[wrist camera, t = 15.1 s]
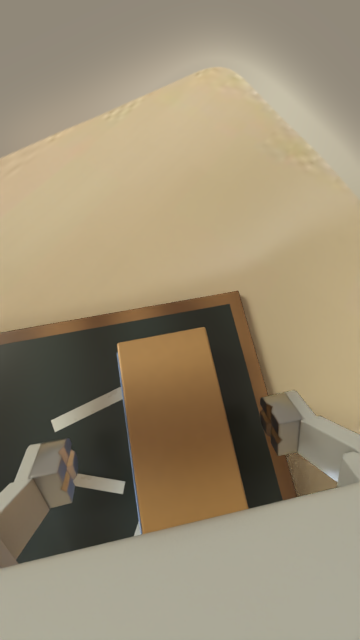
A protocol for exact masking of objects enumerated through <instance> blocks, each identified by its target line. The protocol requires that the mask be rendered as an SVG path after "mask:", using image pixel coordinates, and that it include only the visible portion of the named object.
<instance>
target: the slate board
mask: <svg viewBox="0 0 360 640" xmlns="http://www.w3.org/2000/svg"><path fill="white" fill-rule="evenodd" d="M201 327H205V329H206V333H207V337H208V341H209V345H210V349H211V353H212V358H213V362H214V366H215V370H216V374H217V379H218V383H219V387H220V391H221V395H222V399H223V404H224V408H225V412H226V416H227V420H228V425H229V429H230V433H231V437H232V441H233V445H234V450H235V454H236V458H237V462H238V466H239V471H240V475H241V479H242V483H243V487H244V491H245V496H246V500H247V504H248V508H249V509H250V508H254V507H258V506H262V505H266V504H270V503H274V502H279V501H283V500H287V499H291V498H295V497H297V495H296V491H295V488H294V484H293V481H292V477H291V474H290V470H289V467H288V463H287V460H286V456H285V455H281V456H277V454H276V452H275V450H274V448H273V446H272V444H271V437H270V436H268V435H266V433H265V431H264V429H263V427H262V424H261V419H260V412H261V410H262V407H261V405H260V399H261V397H265V396H268V393H267V390H266V386H265V383H264V379H263V376H262V372H261V369H260V365H259V362H258V358H257V355H256V351H255V348H254V344H253V341H252V337H251V334H250V330H249V327H248V323H247V320H246V316H245V313H244V309H243V306H242V302H241V299H240V295H239V292H238V291H235V292H229V293H223V294H218V295H212V296H206V297H200V298H195V299H189V300H183V301H178V302H172V303H166V304H161V305H155V306H149V307H144V308H138V309H132V310H127V311H121V312H115V313H110V314H104V315H98V316H93V317H87V318H81V319H75V320H70V321H64V322H58V323H53V324H47V325H41V326H36V327H30V328H24V329H19V330H13V331H7V332H2V333H0V493H1V492H2V491H3V490H4V489H5V488H6V487H7V486H8V485H9V484H10V483H13V482H14V480H15V478H16V475H17V473H18V470H19V468H20V465H21V463H22V460H23V457H24V455H25V452H26V450H27V448H28V447H29V446H30V445H33V444H38V443H43V442H48V441H53V440H58V439H64V438H69V439H70V441H71V443H72V446H71V449H72V450H73V451H75V452H76V455H77V459H78V473H77V476H76V478H75V479H74V480H73V483H74V485H75V489H74V495H73V500H72V503H69V504H65V505H62V506H58V507H54V508H50V510H49V512H48V513H47V515H46V516H45V518H44V519H43V521H42V522H41V524H40V525H39V527H38V528H37V530H36V531H35V532H34V534H33V535H32V537H31V538H30V540H29V541H28V543H27V544H26V546H25V547H24V549H23V550H22V552H21V553H20V555H19V556H18V558H17V559H16V561H17V562H18V564H20V563H24V562H29V561H33V560H37V559H41V558H45V557H49V556H54V555H58V554H62V553H66V552H70V551H74V550H79V549H83V548H87V547H91V546H95V545H100V544H104V543H108V542H112V541H116V540H120V539H125V538H129V537H133V536H137V535H141V533H140V526H139V518H138V511H137V503H136V496H135V488H134V481H133V473H132V466H131V458H130V451H129V443H128V436H127V428H126V421H125V413H124V406H123V398H122V391H121V383H120V376H119V368H118V361H117V352H118V349H117V344H118V343H120V342H125V341H131V340H136V339H141V338H147V337H152V336H158V335H163V334H168V333H174V332H179V331H185V330H190V329H195V328H201Z"/></svg>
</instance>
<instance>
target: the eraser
mask: <svg viewBox="0 0 360 640" xmlns="http://www.w3.org/2000/svg"><path fill="white" fill-rule="evenodd" d="M117 349H118V352H117V361H118V368H119V376H120V383H121V391H122V398H123V406H124V413H125V421H126V428H127V436H128V443H129V451H130V458H131V466H132V473H133V481H134V488H135V496H136V503H137V511H138V518H139V526H140V533H141V534H145V533H150V532H154V531H158V530H162V529H166V528H171V527H175V526H179V525H183V524H187V523H191V522H196V521H200V520H204V519H208V518H212V517H217V516H221V515H225V514H229V513H233V512H237V511H241V510H246V509H249V508H248V504H247V500H246V496H245V491H244V487H243V483H242V479H241V475H240V471H239V466H238V462H237V458H236V454H235V450H234V445H233V441H232V437H231V433H230V429H229V425H228V420H227V416H226V412H225V408H224V404H223V399H222V395H221V391H220V387H219V383H218V379H217V374H216V370H215V366H214V362H213V358H212V353H211V349H210V345H209V341H208V337H207V333H206V329H205V327H201V328H195V329H190V330H185V331H179V332H174V333H168V334H163V335H158V336H152V337H147V338H141V339H136V340H131V341H125V342H120V343H118V344H117Z"/></svg>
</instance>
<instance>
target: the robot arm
mask: <svg viewBox="0 0 360 640" xmlns="http://www.w3.org/2000/svg"><path fill="white" fill-rule="evenodd" d="M260 405H261V407H262V410H261V412H260V419H261V424H262V427H263V429H264V431H265V433H266V435H268V436H270V437H271V444H272V446H273V448H274V450H275V452H276V454H277V456H281V455H286V454H292V453H297V452H298V454H299V455H301V456H302V457H304V458H305V459H306V460H308V461H309V462H310V463H312V464H313V465H314V466H316V467H317V468H319V469H320V470H321V471H323V472H324V473H325V474H327V475H328V476H329V477H331V478H332V479H334V480H335V481H336V482H337V487H336V488H333V489H329V490H325V491H320V492H316V493H312V494H308V495H304V496H299V497H295V498H291V499H287V500H283V501H279V502H274V503H270V504H266V505H262V506H258V507H254V508H250V509H246V510H241V511H237V512H233V513H229V514H225V515H221V516H217V517H212V518H208V519H204V520H200V521H196V522H191V523H187V524H183V525H179V526H175V527H171V528H166V529H162V530H158V531H154V532H150V533H145V534H141V535H137V536H133V537H129V538H125V539H120V540H116V541H112V542H108V543H104V544H100V545H95V546H91V547H87V548H83V549H79V550H74V551H70V552H66V553H62V554H58V555H54V556H49V557H45V558H41V559H37V560H33V561H29V562H24V563H20V564H18V562H17V561H16V559H17V558H18V556H19V555H20V553H21V552H22V550H23V549H24V547H25V546H26V544H27V543H28V541H29V540H30V538H31V537H32V535H33V534H34V532H35V531H36V530H37V528H38V527H39V525H40V524H41V522H42V521H43V519H44V518H45V516H46V515H47V513H48V512H49V510H50V508H54V507H58V506H62V505H65V504H69V503H72V500H73V495H74V489H75V485H74V483H73V480H74V479H75V478H76V476H77V473H78V459H77V455H76V452H75V451H73V450H72V449H71V446H72V443H71V441H70V439H69V438H64V439H58V440H53V441H48V442H43V443H38V444H33V445H30V446H29V447H28V448H27V450H26V452H25V455H24V457H23V460H22V463H21V465H20V468H19V470H18V473H17V475H16V478H15V480H14V482H13V483H10V484H9V485H8V486H7V487H6V488H5V489H4V490H3V491H2V492H1V493H0V640H360V435H359V434H357V433H355V432H353V431H351V430H349V429H347V428H344V427H342V426H340V425H338V424H336V423H334V422H332V421H330V420H328V419H326V418H324V417H322V416H316V415H315V414H314V412H313V411H312V410H311V409H310V407H309V406H308V405H307V404H306V402H305V401H304V400H303V399H302V397H301V396H300V395H299V394H298V392H297V391H295V390H292V391H287V392H283V393H278V394H274V395H269V396H265V397H261V399H260Z"/></svg>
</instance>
